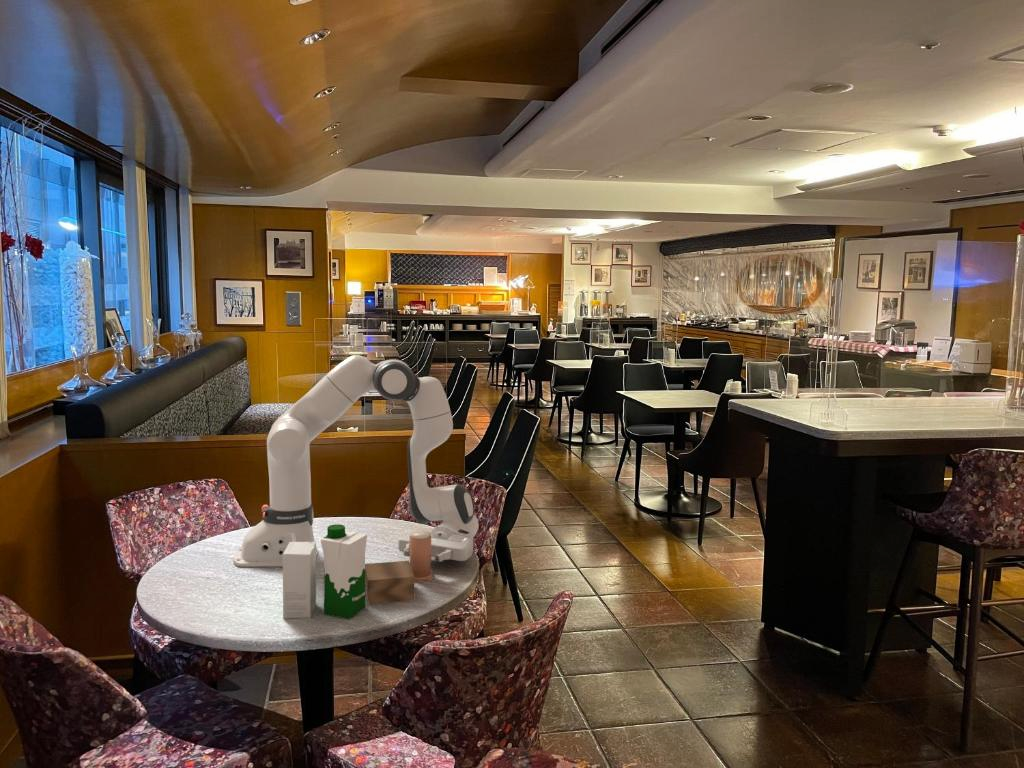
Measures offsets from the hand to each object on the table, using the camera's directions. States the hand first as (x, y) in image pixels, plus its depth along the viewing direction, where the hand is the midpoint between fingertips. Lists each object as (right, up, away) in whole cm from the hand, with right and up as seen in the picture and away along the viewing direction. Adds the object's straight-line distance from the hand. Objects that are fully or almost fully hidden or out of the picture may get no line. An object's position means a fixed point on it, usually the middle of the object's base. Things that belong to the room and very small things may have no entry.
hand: (421, 555), depth 196 cm
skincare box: (-25, -8, -22) cm, 35 cm away
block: (-7, -7, -11) cm, 15 cm away
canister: (0, -6, 0) cm, 6 cm away
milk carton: (-15, -8, -22) cm, 28 cm away
